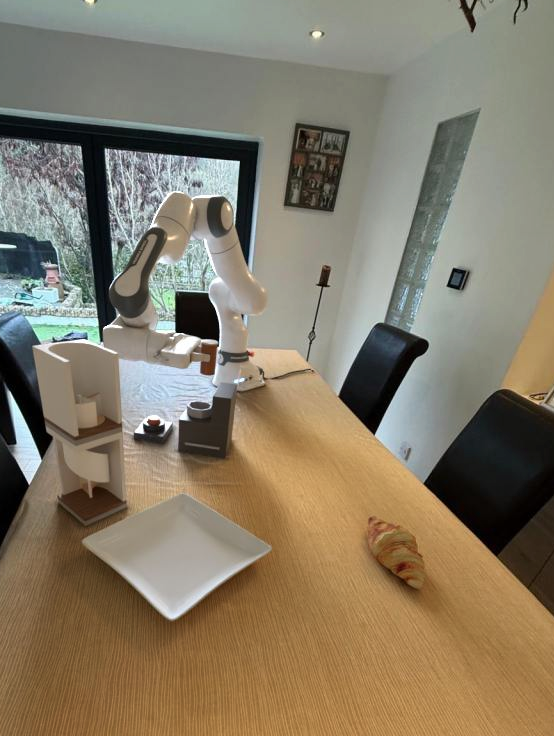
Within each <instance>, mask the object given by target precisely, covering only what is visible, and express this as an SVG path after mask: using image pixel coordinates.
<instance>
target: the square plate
mask: <svg viewBox="0 0 554 736" xmlns="http://www.w3.org/2000/svg"><path fill="white" fill-rule="evenodd" d="M81 543H82V545H83V546H84V547H85V548H86V549H87V550H88V551H90V552H91V553H92V554H94V555H95V556H96V557H98V558H99V559H100V560H102V561H103V562H104V563H105V564H107V565H108V566H109V567H110V568H111V569H113V570H114V571H115V572H116V573H118V575H120V576H121V577H122V578H123V579H124V580H125V581H126V582H127V583H128V584H129V585H130V586H131V587H132V588H133V589H134V590H136V592H138V594H139V595H140V596H141V597H142V598H144V599H145V600H146V602H148V604H149V605H151V607H152V608H153V609H155V610H156V611H157V613H159V614H160V615H161V616H162V617H163V618H165V619H166V620H167V621H169V622H174V621H176V620H178V619H180V618H181V617H183V616H184V615H185V614H187V613H188V612H189V611H191V610H192V609H193V608H194V607H195V606H197V605H198V604H199V603H200V602H201V601H203V600H204V599H205V598H206V597H208V596H209V595H210V594H211V593H213V592H214V591H215V590H216V589H218V588H219V587H220V586H221V585H223V584H224V583H226V582H227V581H228V580H230V579H232V578H233V577H234V576H236V575H237V574H238V573H240V572H242V571H244V570H245V569H246V568H248V567H249V566H251V565H253V564H255V563H256V562H258V561H259V560H260V559H262V558H263V557H265V556H267V555H268V554H270V553H271V551H272V550H273V546H271V544H269V543H267V542H266V541H265V540H263V539H261V538H260V537H258V536H256V535H255V534H253V533H251V532H250V531H248V530H247V529H246V528H244V527H242V526H240V525H239V524H238V523H236V522H234V521H232V520H231V519H229V518H228V517H226V516H224V515H223V514H221V513H219V512H218V511H217V510H215V509H213V508H211V507H210V506H208V505H207V504H205V503H204V502H202V501H200V500H199V499H198V498H197V499H196V498H195V497H193V496H192V495H190V494H188V493H186V492H180V493H177V494H175V495H173V496H171V497H168V498H167V499H165V500H162V501H160V502H158V503H155V504H153V505H151V506H149V507H147V508H144V509H143V510H141V511H139V512H136V513H134V514H132V515H130V516H127V517H125V518H123V519H121V520H119V521H117V522H114V523H112V524H111V525H109V526H107V527H104V528H103V529H100V530H98V531H96V532H94V533H92V534H90V535H88V536H86V537H84V538H83V539H81Z"/></svg>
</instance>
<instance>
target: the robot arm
mask: <svg viewBox="0 0 554 736" xmlns="http://www.w3.org/2000/svg"><path fill="white" fill-rule="evenodd" d="M234 216H235V215H234V208H233V206H232V204H231V202H230V200H229V199H228V197H226V196H224V195H220V194H213V195H196V196H194V197H190V196H189V195H188V194H186V193H185V192H182V191H178V190H176V191H172V192H170V193H168V194H167V196H166V197H165V199H163V201H162V203H161V204H160V206H159V208H158V209H157V211H156V214H155V216H154V218H153V220H152V223H151V225H150V227H149V228H148V229H147V230H145V231H144V233H143V234H142V236H141V238H140V239H139V241H138V243H137V245H136V246H135V249H134V250H133V252H132V254H131V256H130V258H129V259H128V261H127V263H126V264H125V266H124V268H123V270H122V271H121V272H120V273H119V274H118V275H117V276H116V277H115V278H114V280H112V283H111V284H110V286H109V289H108V297H109V298H108V299H109V302H110V303H111V305H112V306H113V308H114V309H115V311H116V312H117V313H118V315H117V316H116V318H115V319H114V320H113V321H112V322H111V323H109V324H108V325H107V326H104V327H103V330H102V343H103V347H105V348H107V349H109V350H112V351H114V352H117V353H118V358H119V360H123V361H127V362H133V363H134V362H135V363H137V362H144V363H147V364H149V365H156V366H163V367H170V368H173V369H179V370H185V369H186V370H187V369H189V367H190V365H191V364H192V363H198V362H199V363H200V362H201V361H205V362H209V361H210V357H211V355H210V354H207V353H204V354H202V353H201V345H202V343H201V340H202V338H200V337H198V336H194V335H191V334H190V335H189V334H185V333H177V332H176V330H172V329H171V330H156V329H157V327H158V322H159V321H158V320H159V316H158V312H157V309H156V306H155V305H154V302H153V299H152V296H151V292H150V279H151V277H152V275H153V273H154V271H155V269H156V267H157V265H158V263H160V264H163V265H170V266H171V265H175V264H177V263H179V262H180V261H181V260H182V258H183V257H184V255H185V254H186V251H187V249H188V246H189V243H190V241H195V242H196V241H197V242H199V241H203V240H204V244H205V248H206V251H207V254H208V257H209V260H210V264H211V266H212V269H213V272H214V274H215V275H216V276H217V278H215V279H213V281H212V282H211V283H210V285H209V289H208V298H209V300H210V302H211V303H212V305H213V307H214V308H215V311H216V315H217V319H218V323H219V324H218V325H219V341H218V347H217V355H216V367H215V374H214V375H213V376H214V377H213V379H212V384H213V385H214V386H215V387H217V388H218V386H219V384H220V382H223V383H230V384H237V392H246V391H250V390H253V389H256V388H259V387H262V386H263V387H264V386H265V384H266V383H265V381H264V380H268V378H267V377H265V371H264V368H262V367H260V366H259V365H256V364H255V363H254V362H253V361H252V360H251V359H250V358H253V357H254V356H255V352H254V351H252V350H248V343H249V342H248V341H249V334H250V333H249V328H248V325H246V324H245V322H244V320H243V317H242V315H244V316H260V315H262V314H263V313H264V312H265V310H266V309H267V308H268V305H269V294H268V291H267V289H266V288H265V287H264V286H262V284H261V283H260V282H259V281H258V280H257V279H256V278H255V276H254V274H253V273H252V271H251V269H250V267H249V266H248V264H247V263H246V262H247V261H246V260H245V257H244V254H243V251H242V247H241V243H240V239H239V236H238V235H239V234H238V232H237V228H236V225H235V223H234V221H235V217H234ZM311 369H312V368H305V369H300V370H293V371H288V372H286V373H284V374H282V375H277V376H273V377H270V378H269V380H276V379H279V378H284V377H286V376H288V375H292V374H296V373H303V372H307V371H311V372H312V373H314V372H315V370H314V369H313V370H311ZM261 376H262V378H261Z"/></svg>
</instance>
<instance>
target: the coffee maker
mask: <svg viewBox="0 0 554 736" xmlns="http://www.w3.org/2000/svg"><path fill="white" fill-rule="evenodd" d="M237 392H238V391H237V384H230V383H223V382H220V384H219V386H218V387H217V388H216V389H215V391H214V393H213V395H212V401H211V402H212V404H211V403H210V402H208V401H202V400H193V401H189V402H188V403H187V405H186V407H185V409H184V410H183V412H182V414H181V416H180V417H179V418H178V439H177V442H178V444H177V449H178V450H177V451H178V452H182V453H187V454H193V455H201V456H208V457H212V458H220V459H227V456H228V452H229V449H230V446H231V444H232V439H233V431H234V420H235V411H236V401H237Z"/></svg>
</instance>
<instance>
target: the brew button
mask: <svg viewBox="0 0 554 736" xmlns="http://www.w3.org/2000/svg"><path fill="white" fill-rule="evenodd" d="M147 418H148V424H151V425H157V424H160V419H161V417H160V416H159V415H154V414H151V415H149V416H147Z"/></svg>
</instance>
